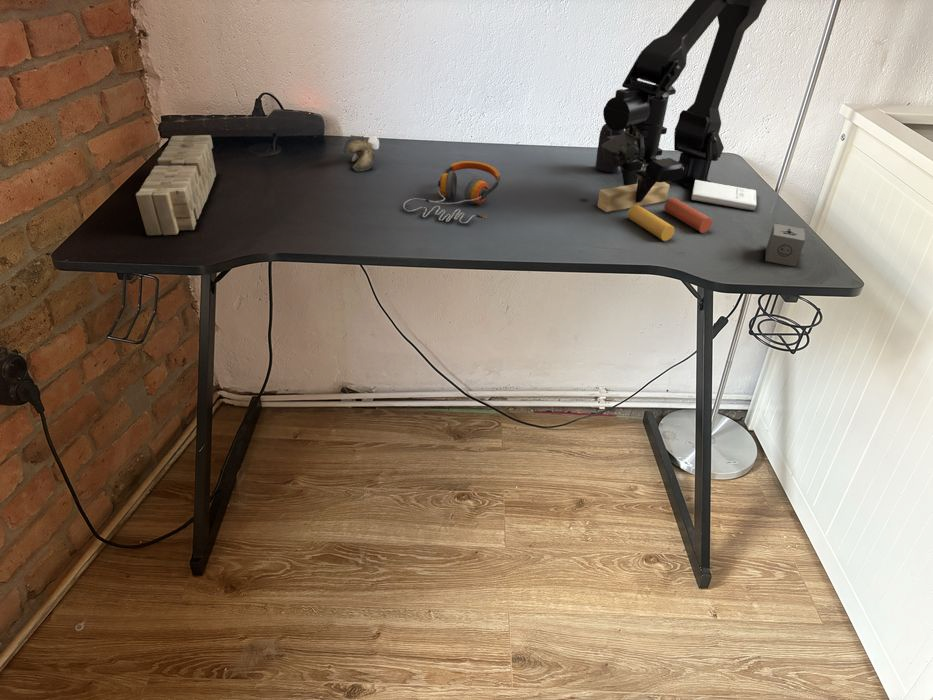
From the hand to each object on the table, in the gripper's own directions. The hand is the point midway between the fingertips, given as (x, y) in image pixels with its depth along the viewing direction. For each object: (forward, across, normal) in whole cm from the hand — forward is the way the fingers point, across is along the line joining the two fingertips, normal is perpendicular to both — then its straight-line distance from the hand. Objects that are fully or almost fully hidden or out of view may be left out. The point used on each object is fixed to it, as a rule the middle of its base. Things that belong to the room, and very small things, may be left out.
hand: (633, 199), depth 137 cm
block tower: (+1, -32, -81) cm, 87 cm away
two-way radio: (+1, -17, +6) cm, 18 cm away
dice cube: (+1, +29, +10) cm, 31 cm away
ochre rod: (+1, +11, -4) cm, 12 cm away
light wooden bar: (+1, 0, 0) cm, 1 cm away
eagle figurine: (+1, -40, -44) cm, 59 cm away
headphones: (+1, -13, -32) cm, 35 cm away
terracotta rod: (+1, +11, +4) cm, 12 cm away
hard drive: (+1, +5, +20) cm, 20 cm away
